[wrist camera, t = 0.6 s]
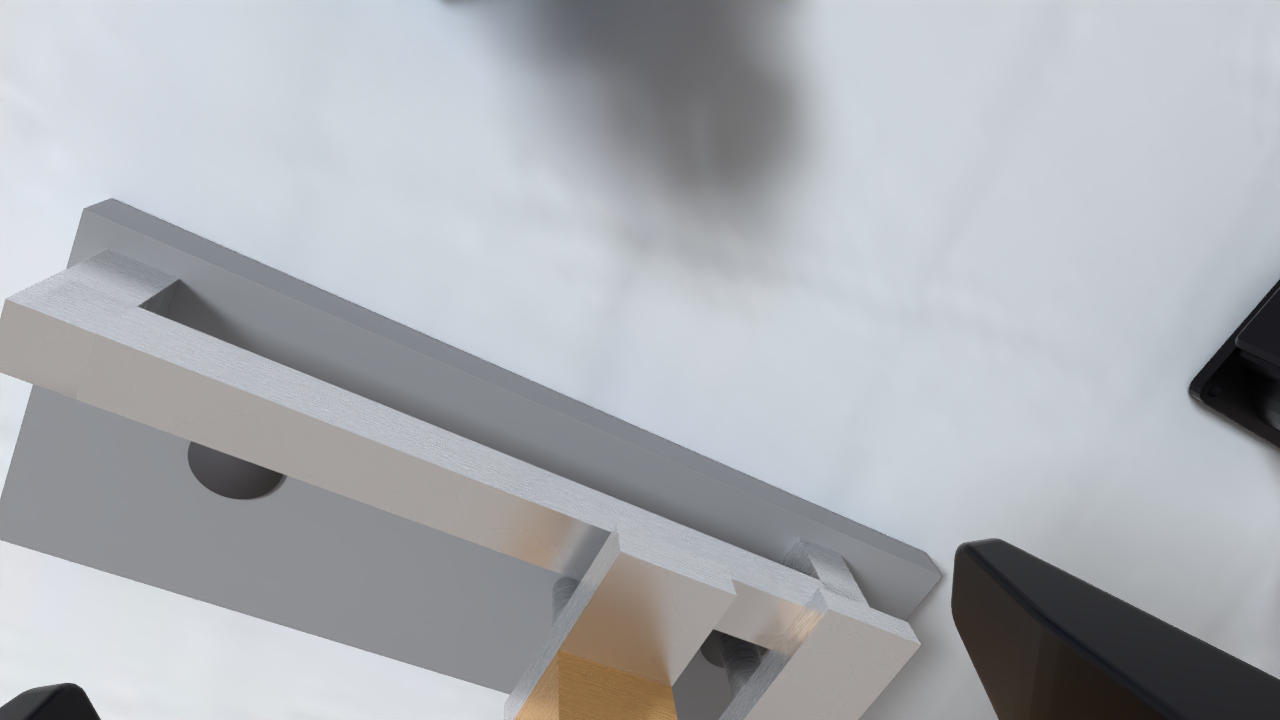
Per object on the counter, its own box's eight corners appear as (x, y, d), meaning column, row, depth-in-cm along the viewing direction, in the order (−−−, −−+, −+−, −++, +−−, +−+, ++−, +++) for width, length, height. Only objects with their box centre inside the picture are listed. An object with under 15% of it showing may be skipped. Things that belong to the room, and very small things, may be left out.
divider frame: (858, 540, 23) (921, 644, 19) (757, 672, 25) (796, 793, 21) (115, 222, 17) (-17, 279, 13) (53, 428, 19) (-80, 533, 15)
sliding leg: (698, 479, 21) (788, 751, 13) (586, 652, 23) (604, 976, 15) (605, 440, 20) (640, 704, 12) (497, 623, 22) (467, 949, 14)
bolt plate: (925, 552, 25) (943, 578, 24) (769, 747, 28) (779, 778, 27) (111, 198, 18) (80, 209, 17) (18, 510, 21) (-14, 539, 20)
